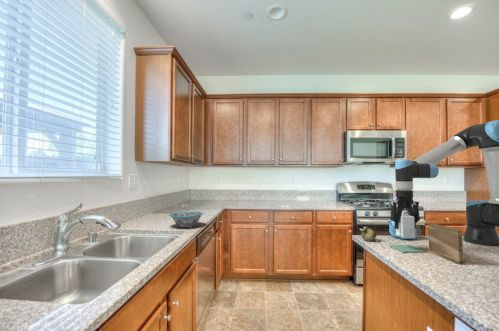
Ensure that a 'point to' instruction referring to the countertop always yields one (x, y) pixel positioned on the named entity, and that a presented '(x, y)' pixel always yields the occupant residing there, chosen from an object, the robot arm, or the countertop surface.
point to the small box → (407, 226)
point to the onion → (368, 234)
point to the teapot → (393, 231)
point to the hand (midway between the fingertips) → (405, 235)
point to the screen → (446, 243)
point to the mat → (406, 248)
